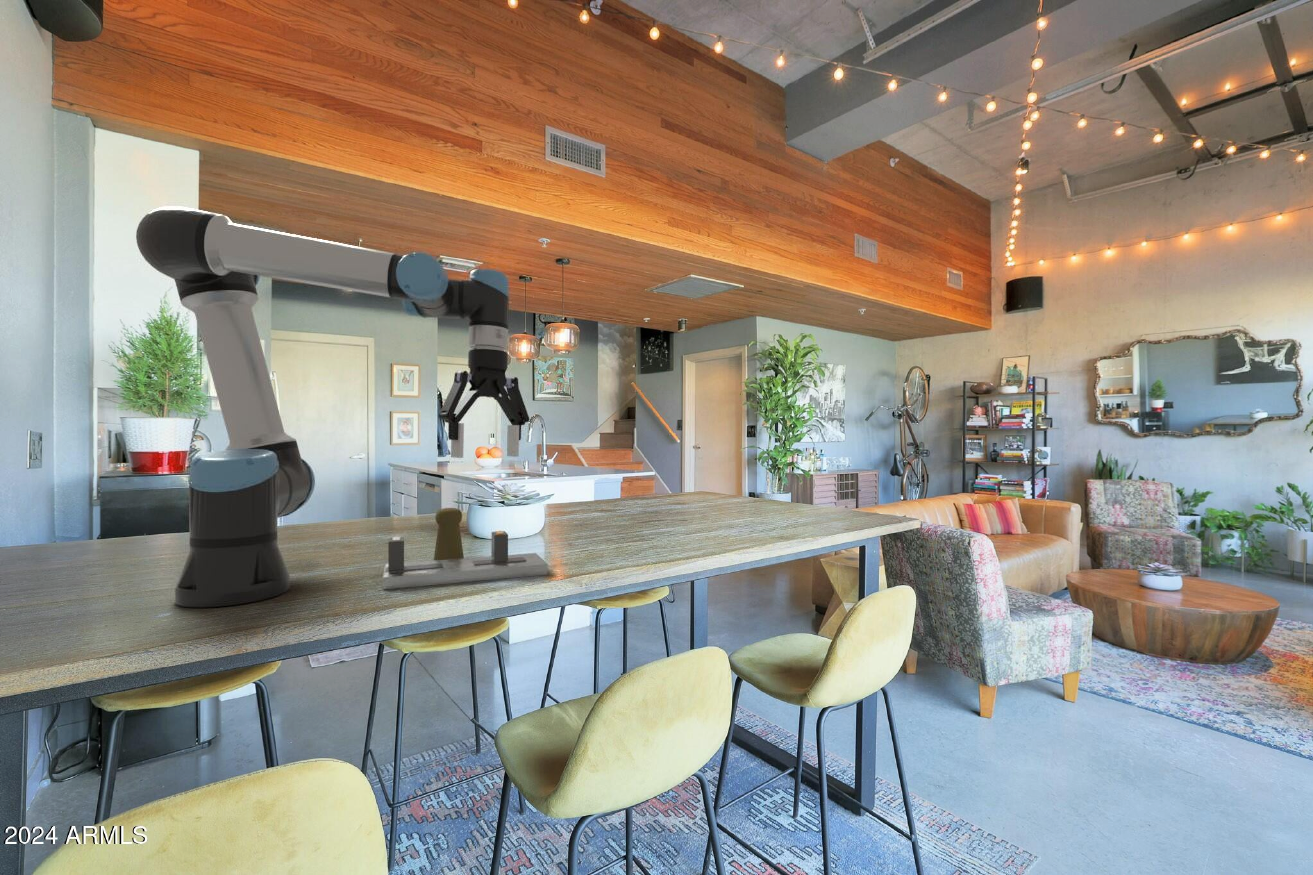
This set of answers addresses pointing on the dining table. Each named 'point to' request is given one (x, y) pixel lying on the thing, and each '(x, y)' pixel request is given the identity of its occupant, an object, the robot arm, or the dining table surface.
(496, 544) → the block
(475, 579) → the panel
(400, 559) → the block
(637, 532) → the dining table surface
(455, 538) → the cork
